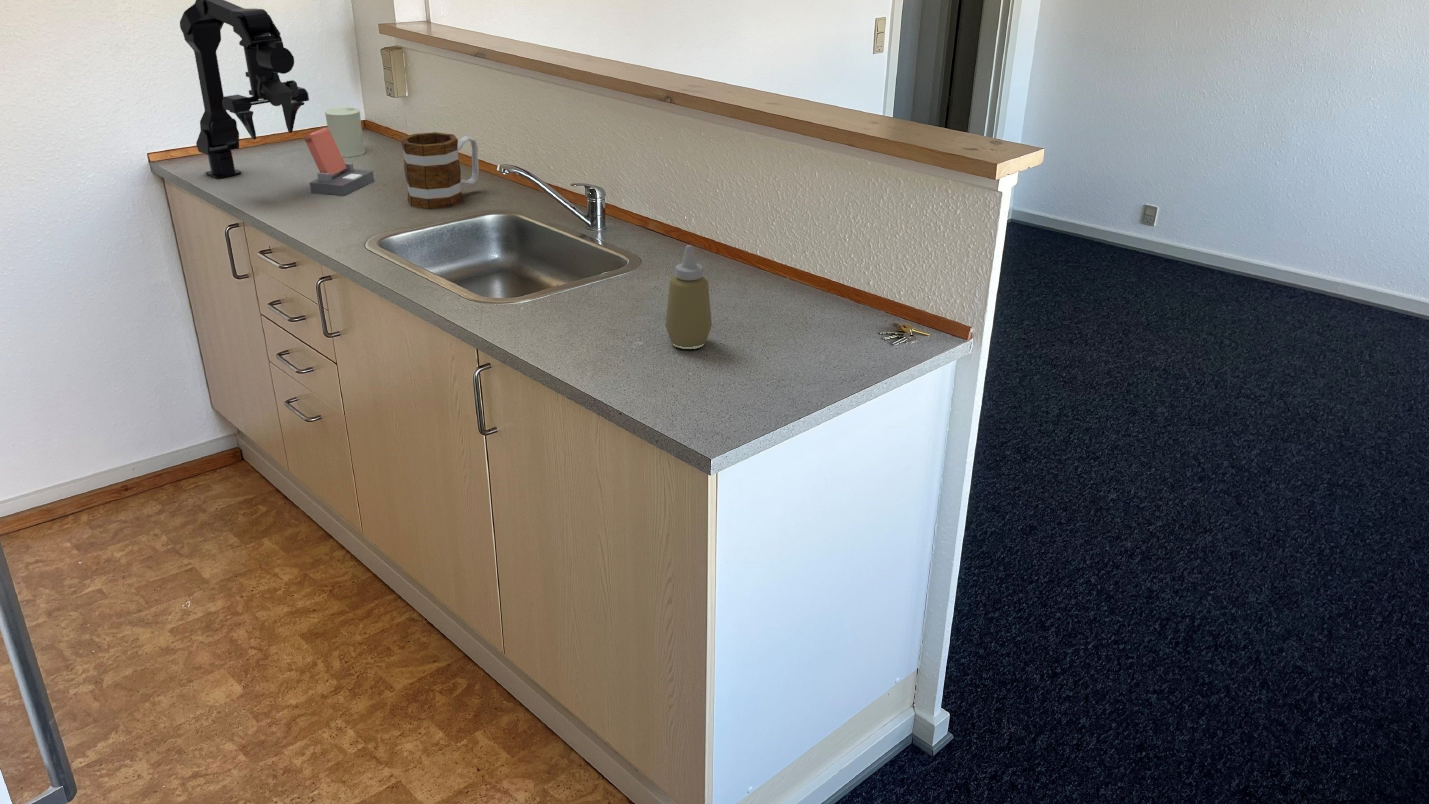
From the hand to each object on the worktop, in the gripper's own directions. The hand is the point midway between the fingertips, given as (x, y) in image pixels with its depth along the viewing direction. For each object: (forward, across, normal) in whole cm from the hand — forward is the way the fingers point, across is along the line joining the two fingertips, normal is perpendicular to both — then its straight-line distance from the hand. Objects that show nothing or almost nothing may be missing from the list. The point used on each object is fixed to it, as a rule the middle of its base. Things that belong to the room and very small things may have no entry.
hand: (272, 135), depth 250 cm
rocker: (+12, +14, -2) cm, 19 cm away
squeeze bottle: (+15, +1, -130) cm, 130 cm away
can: (+15, +34, +24) cm, 44 cm away
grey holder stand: (+15, +15, -3) cm, 21 cm away
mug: (+15, +26, -30) cm, 42 cm away
